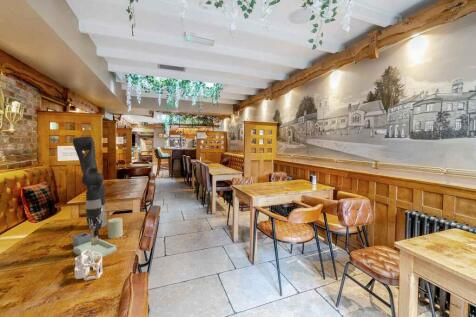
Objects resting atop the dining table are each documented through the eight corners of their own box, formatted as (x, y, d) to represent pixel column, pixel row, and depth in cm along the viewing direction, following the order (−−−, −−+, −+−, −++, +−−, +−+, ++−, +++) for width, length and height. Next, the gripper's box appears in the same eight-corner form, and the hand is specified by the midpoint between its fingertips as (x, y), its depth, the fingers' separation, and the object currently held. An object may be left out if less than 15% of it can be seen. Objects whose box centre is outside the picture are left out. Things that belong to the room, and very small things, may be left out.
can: (109, 239, 140) (108, 222, 139) (106, 235, 147) (106, 218, 146) (124, 236, 146) (124, 219, 145) (121, 232, 153) (121, 216, 152)
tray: (98, 243, 135) (98, 238, 135) (116, 250, 125) (116, 246, 125) (73, 252, 123) (73, 247, 123) (90, 262, 113) (90, 256, 113)
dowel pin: (96, 242, 126) (95, 226, 125) (99, 243, 124) (98, 227, 124) (90, 244, 123) (89, 228, 123) (93, 246, 121) (92, 229, 121)
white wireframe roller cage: (75, 265, 110) (74, 252, 109) (100, 258, 117) (99, 246, 116) (74, 285, 94) (74, 270, 94) (103, 276, 101) (103, 262, 100)
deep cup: (85, 241, 137) (85, 232, 136) (91, 244, 133) (90, 234, 133) (73, 246, 131) (72, 236, 130) (78, 248, 127) (78, 238, 127)
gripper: (106, 207, 122) (107, 235, 123) (94, 203, 129) (95, 230, 130) (92, 210, 116) (93, 240, 117) (80, 206, 123) (81, 234, 124)
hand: (94, 235), depth 123 cm, fingers closed on dowel pin, 3 cm apart
